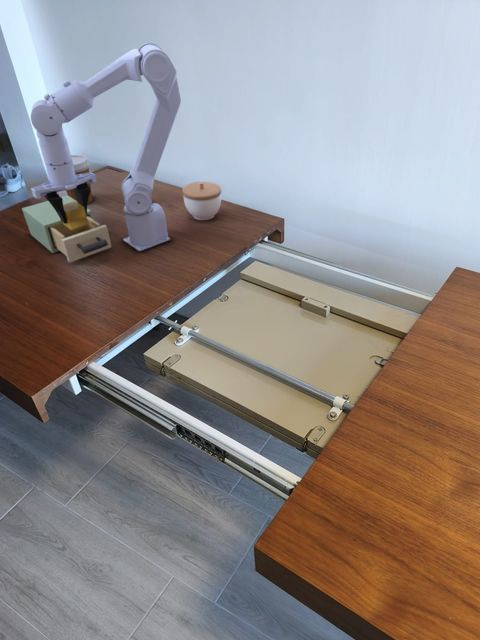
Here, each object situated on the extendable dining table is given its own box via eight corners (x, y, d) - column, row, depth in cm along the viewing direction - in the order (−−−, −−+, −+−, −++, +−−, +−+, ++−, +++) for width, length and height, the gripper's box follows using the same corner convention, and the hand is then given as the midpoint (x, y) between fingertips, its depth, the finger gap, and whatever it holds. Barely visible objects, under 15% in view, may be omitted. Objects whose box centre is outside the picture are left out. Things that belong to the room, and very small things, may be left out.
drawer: (120, 253, 116) (115, 232, 113) (78, 269, 111) (71, 247, 107) (88, 230, 126) (83, 210, 122) (47, 244, 120) (40, 223, 116)
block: (80, 218, 117) (75, 200, 114) (88, 224, 114) (84, 206, 111) (62, 223, 115) (57, 206, 112) (71, 230, 112) (66, 212, 109)
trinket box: (194, 227, 129) (190, 193, 123) (179, 212, 136) (175, 180, 130) (229, 218, 133) (227, 186, 127) (213, 204, 140) (211, 173, 134)
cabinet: (97, 237, 124) (91, 210, 120) (52, 253, 118) (43, 225, 113) (74, 220, 132) (67, 195, 127) (30, 234, 125) (21, 208, 121)
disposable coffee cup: (66, 196, 145) (55, 155, 137) (98, 193, 146) (89, 153, 139) (63, 208, 138) (52, 167, 130) (97, 205, 139) (87, 164, 132)
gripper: (33, 174, 99) (52, 233, 108) (97, 158, 106) (109, 215, 115) (20, 165, 103) (39, 223, 111) (82, 150, 110) (95, 206, 119)
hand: (74, 218), depth 113 cm, fingers closed on block, 4 cm apart
